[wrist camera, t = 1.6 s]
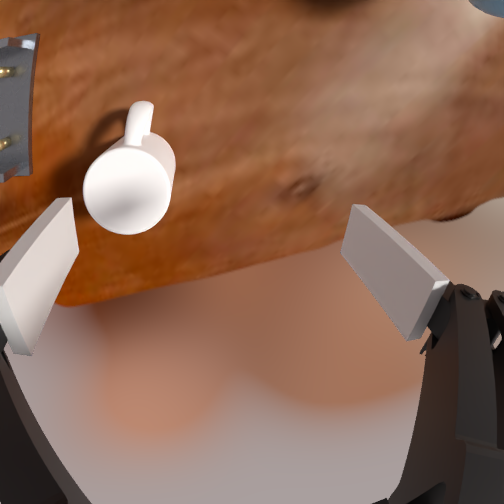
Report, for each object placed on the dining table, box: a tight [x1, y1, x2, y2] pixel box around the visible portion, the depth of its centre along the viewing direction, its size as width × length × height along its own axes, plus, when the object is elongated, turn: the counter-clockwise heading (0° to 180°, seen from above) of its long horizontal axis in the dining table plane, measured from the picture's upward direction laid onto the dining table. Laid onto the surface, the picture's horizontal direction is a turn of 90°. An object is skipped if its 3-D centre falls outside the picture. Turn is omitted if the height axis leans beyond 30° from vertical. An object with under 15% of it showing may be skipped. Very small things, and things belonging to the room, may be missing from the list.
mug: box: [83, 101, 175, 234], centre depth 29 cm, size 8×10×12 cm
